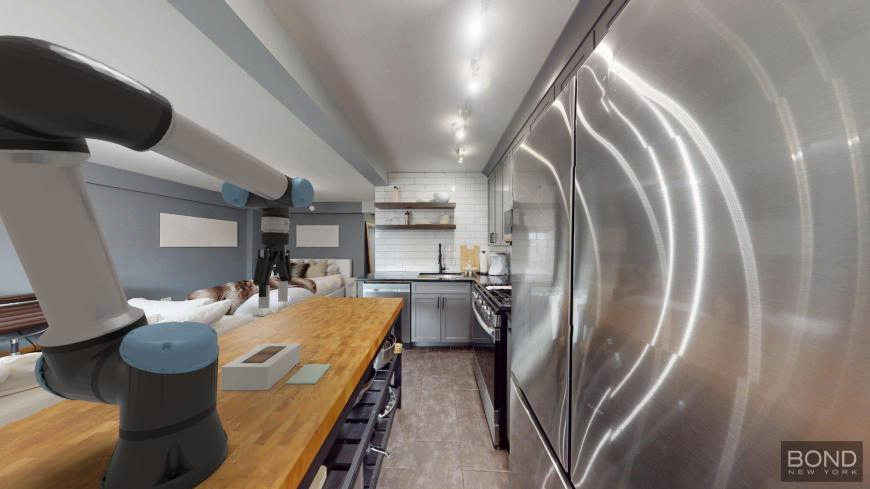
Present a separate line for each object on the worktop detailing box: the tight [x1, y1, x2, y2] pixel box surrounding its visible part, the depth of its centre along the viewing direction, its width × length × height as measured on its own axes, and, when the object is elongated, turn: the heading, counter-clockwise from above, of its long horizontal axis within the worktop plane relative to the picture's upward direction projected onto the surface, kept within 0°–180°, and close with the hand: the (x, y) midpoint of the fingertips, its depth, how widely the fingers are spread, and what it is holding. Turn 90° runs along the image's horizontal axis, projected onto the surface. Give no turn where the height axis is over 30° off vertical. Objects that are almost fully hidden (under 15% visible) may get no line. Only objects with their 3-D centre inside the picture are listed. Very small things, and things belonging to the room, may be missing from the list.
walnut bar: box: [243, 347, 285, 363], centre depth 81 cm, size 12×5×2 cm, turn 1°
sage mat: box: [285, 363, 332, 386], centre depth 81 cm, size 12×8×1 cm, turn 1°
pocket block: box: [220, 343, 302, 391], centre depth 80 cm, size 18×12×6 cm, turn 1°
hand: (273, 304), depth 85 cm, fingers open, 10 cm apart
